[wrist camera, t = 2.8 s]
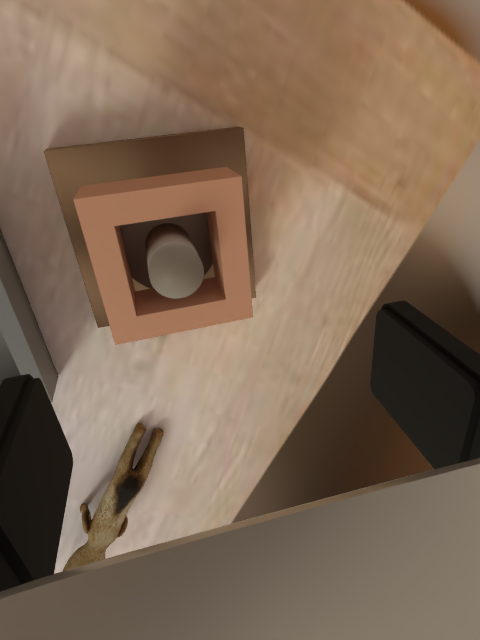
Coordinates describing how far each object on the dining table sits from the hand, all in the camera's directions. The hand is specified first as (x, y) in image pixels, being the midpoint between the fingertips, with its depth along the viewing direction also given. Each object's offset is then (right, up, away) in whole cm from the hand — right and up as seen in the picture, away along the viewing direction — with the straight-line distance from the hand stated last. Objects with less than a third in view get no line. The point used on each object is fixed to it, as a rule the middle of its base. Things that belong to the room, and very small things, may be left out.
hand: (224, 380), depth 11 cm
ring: (-3, +6, +10) cm, 12 cm away
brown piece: (-4, +7, +12) cm, 15 cm away
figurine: (-10, -12, +21) cm, 26 cm away
